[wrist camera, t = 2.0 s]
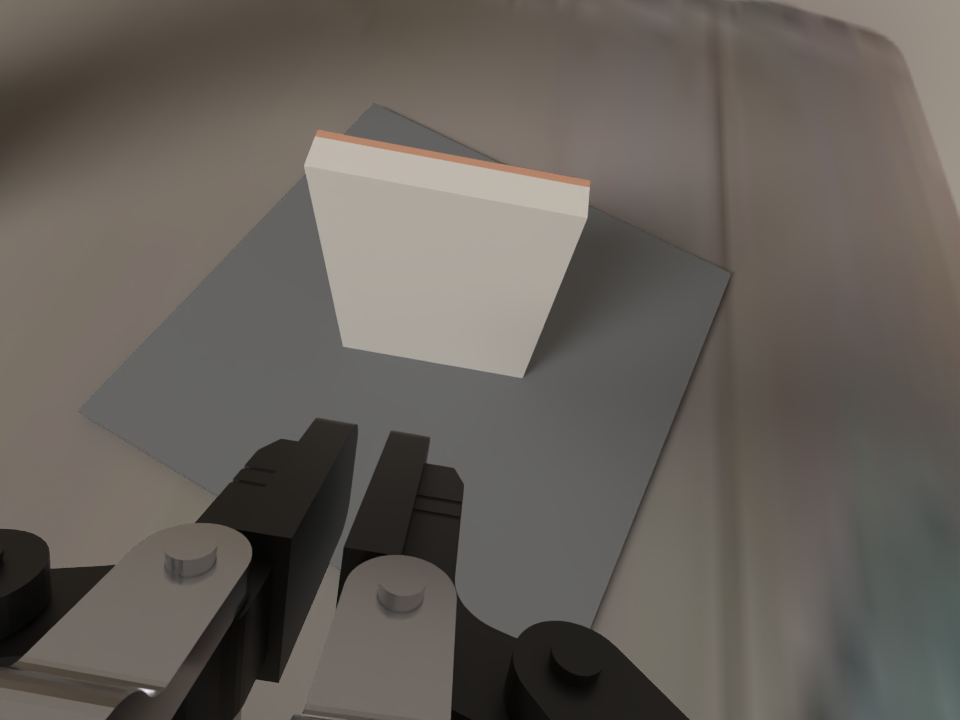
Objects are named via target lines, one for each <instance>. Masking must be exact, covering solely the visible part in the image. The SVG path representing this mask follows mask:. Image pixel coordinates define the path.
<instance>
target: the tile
mask: <svg viewBox="0 0 960 720" xmlns="http://www.w3.org/2000/svg"><path fill="white" fill-rule="evenodd" d="M304 168H305V173H306V177H307V182H308V187H309V191H310V196H311V200H312V205H313V210H314V214H315V219H316V224H317V228H318V233H319V237H320V242H321V247H322V251H323V256H324V261H325V265H326V270H327V275H328V279H329V284H330V288H331V293H332V298H333V302H334V307H335V312H336V316H337V321H338V326H339V330H340V335H341V339H342V344H343V347H348V348H353V349H359V350H365V351H370V352H376V353H382V354H388V355H393V356H399V357H405V358H410V359H416V360H422V361H427V362H433V363H439V364H444V365H450V366H456V367H462V368H467V369H473V370H479V371H484V372H490V373H496V374H501V375H507V376H513V377H518V378H523V376H524V373H525V371H526V368H527V366H528V363H529V361H530V359H531V356H532V354H533V351H534V349H535V346H536V344H537V341H538V339H539V336H540V334H541V331H542V329H543V326H544V324H545V322H546V319H547V317H548V314H549V312H550V309H551V307H552V304H553V302H554V299H555V297H556V294H557V292H558V289H559V287H560V284H561V282H562V280H563V277H564V275H565V272H566V270H567V267H568V265H569V262H570V260H571V257H572V255H573V252H574V250H575V247H576V245H577V243H578V240H579V238H580V235H581V233H582V230H583V228H584V225H585V223H586V220H587V217H588V203H589V190H590V181H589V180H584V179H578V178H573V177H568V176H562V175H557V174H552V173H546V172H541V171H536V170H530V169H525V168H520V167H514V166H509V165H503V164H498V163H493V162H487V161H482V160H477V159H471V158H466V157H461V156H455V155H450V154H445V153H439V152H434V151H429V150H423V149H418V148H412V147H407V146H402V145H396V144H391V143H386V142H380V141H375V140H370V139H364V138H359V137H354V136H348V135H343V134H337V133H332V132H327V131H321V130H318V131H317V133H316V136H315V138H314V141H313V144H312V146H311V149H310V151H309V154H308V157H307V159H306V162H305V164H304Z"/></svg>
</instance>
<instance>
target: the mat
mask: <svg viewBox="0 0 960 720" xmlns="http://www.w3.org/2000/svg"><path fill="white" fill-rule="evenodd" d="M344 135H348V136H354V137H359V138H364V139H370V140H375V141H380V142H386V143H391V144H396V145H402V146H407V147H412V148H418V149H423V150H429V151H434V152H439V153H445V154H450V155H455V156H461V157H466V158H471V159H477V160H482V161H487V162H493V163H498V162H496V161H494V160H492V159H490V158H488V157H486V156H484V155H482V154H480V153H477V152H475V151H473V150H471V149H469V148H467V147H465V146H463V145H461V144H459V143H456V142H454V141H452V140H450V139H448V138H446V137H444V136H442V135H440V134H438V133H435V132H433V131H431V130H429V129H427V128H425V127H423V126H421V125H419V124H417V123H414V122H412V121H410V120H408V119H406V118H404V117H402V116H400V115H398V114H396V113H393V112H391V111H389V110H387V109H385V108H383V107H381V106H379V105H377V104H375V103H374V104H373V105H372V106H371V107H370V108H369V109H368V110H367V111H366V112H365V113H364V114H363V115H362V116H361V117H360V118H359V119H358V120H357V121H356V122H355V124H354V125H353V126H352V127H351V128H350V129H349V130H348V131H347V132H346V133H345V134H344ZM498 164H501V163H498ZM731 274H732V273H730V272H728V271H725V270H723V269H721V268H719V267H717V266H715V265H713V264H711V263H709V262H706V261H704V260H702V259H700V258H698V257H696V256H694V255H692V254H690V253H688V252H685V251H683V250H681V249H679V248H677V247H675V246H673V245H671V244H669V243H667V242H664V241H662V240H660V239H658V238H656V237H654V236H652V235H650V234H648V233H646V232H643V231H641V230H639V229H637V228H635V227H633V226H631V225H629V224H627V223H625V222H622V221H620V220H618V219H616V218H614V217H612V216H610V215H608V214H606V213H604V212H601V211H599V210H597V209H595V208H593V207H591V206H589V205H588V217H587V220H586V223H585V225H584V228H583V230H582V233H581V235H580V238H579V240H578V243H577V245H576V247H575V250H574V252H573V255H572V257H571V260H570V262H569V265H568V267H567V270H566V272H565V275H564V277H563V280H562V282H561V284H560V287H559V289H558V292H557V294H556V297H555V299H554V302H553V304H552V307H551V309H550V312H549V314H548V317H547V319H546V322H545V324H544V326H543V329H542V331H541V334H540V336H539V339H538V341H537V344H536V346H535V349H534V351H533V354H532V356H531V359H530V361H529V363H528V366H527V368H526V371H525V373H524V376H523V378H518V377H513V376H507V375H501V374H496V373H490V372H484V371H479V370H473V369H467V368H462V367H456V366H450V365H444V364H439V363H433V362H427V361H422V360H416V359H410V358H405V357H399V356H393V355H388V354H382V353H376V352H370V351H365V350H359V349H353V348H348V347H343V344H342V339H341V335H340V330H339V326H338V321H337V316H336V312H335V307H334V302H333V298H332V293H331V288H330V284H329V279H328V275H327V270H326V265H325V261H324V256H323V251H322V247H321V242H320V237H319V233H318V228H317V224H316V219H315V214H314V210H313V205H312V200H311V196H310V191H309V187H308V182H307V177H306V174H305V175H304V177H303V178H302V179H301V180H300V181H299V182H298V183H297V184H296V185H295V186H294V187H293V188H292V189H291V190H290V191H289V192H288V193H287V194H286V195H285V196H284V197H283V198H282V199H281V200H280V201H279V203H278V204H277V205H276V206H275V207H274V208H273V209H272V210H271V211H270V212H269V213H268V214H267V215H266V216H265V217H264V218H263V219H262V220H261V221H260V222H259V223H258V224H257V225H256V226H255V227H254V229H253V230H252V231H251V232H250V233H249V234H248V235H247V236H246V237H245V238H244V239H243V240H242V241H241V242H240V243H239V244H238V245H237V246H236V247H235V248H234V249H233V250H232V251H231V252H230V253H229V254H228V256H227V257H226V258H225V259H224V260H223V261H222V262H221V263H220V264H219V265H218V266H217V267H216V268H215V269H214V270H213V271H212V272H211V273H210V274H209V275H208V276H207V277H206V278H205V279H204V280H203V282H202V283H201V284H200V285H199V286H198V287H197V288H196V289H195V290H194V291H193V292H192V293H191V294H190V295H189V296H188V297H187V298H186V299H185V300H184V301H183V302H182V303H181V304H180V305H179V306H178V307H177V309H176V310H175V311H174V312H173V313H172V314H171V315H170V316H169V317H168V318H167V319H166V320H165V321H164V322H163V323H162V324H161V325H160V326H159V327H158V328H157V329H156V330H155V331H154V332H153V333H152V335H151V336H150V337H149V338H148V339H147V340H146V341H145V342H144V343H143V344H142V345H141V346H140V347H139V348H138V349H137V350H136V351H135V352H134V353H133V354H132V355H131V356H130V357H129V358H128V359H127V361H126V362H125V363H124V364H123V365H122V366H121V367H120V368H119V369H118V370H117V371H116V372H115V373H114V374H113V375H112V376H111V377H110V378H109V379H108V380H107V381H106V382H105V383H104V384H103V385H102V386H101V388H100V389H99V390H98V391H97V392H96V393H95V394H94V395H93V396H92V397H91V398H90V399H89V400H88V401H87V402H86V403H85V404H84V405H83V406H82V407H81V408H80V409H79V410H78V412H79V413H81V414H82V415H84V416H85V417H87V418H88V419H90V420H92V421H93V422H95V423H97V424H98V425H100V426H102V427H103V428H105V429H107V430H108V431H110V432H112V433H113V434H115V435H117V436H118V437H120V438H122V439H123V440H125V441H127V442H128V443H130V444H132V445H133V446H135V447H137V448H138V449H140V450H142V451H143V452H145V453H147V454H148V455H150V456H152V457H153V458H155V459H157V460H158V461H160V462H162V463H163V464H165V465H167V466H168V467H170V468H172V469H173V470H175V471H177V472H178V473H180V474H182V475H183V476H185V477H187V478H188V479H190V480H192V481H193V482H195V483H197V484H198V485H200V486H201V487H203V488H205V489H206V490H208V491H210V492H211V493H213V494H215V495H216V496H219V495H220V493H221V492H222V491H223V490H224V489H225V488H226V486H227V485H228V484H229V483H230V482H233V478H234V477H235V476H236V475H237V474H238V472H239V471H240V470H241V469H244V466H245V464H246V463H247V462H248V461H249V460H250V458H251V457H252V456H253V455H254V454H255V453H256V451H257V450H258V449H261V448H263V447H265V446H267V445H269V444H271V443H273V442H275V441H277V440H279V439H287V440H293V441H299V440H300V438H301V437H302V436H303V434H304V433H305V432H306V430H307V429H308V428H309V426H310V425H311V424H312V422H313V421H314V420H315V418H317V417H318V418H324V419H330V420H336V421H341V422H347V423H353V424H357V425H358V439H357V448H356V456H355V464H354V472H353V480H352V488H351V496H350V503H349V509H348V514H347V518H346V522H345V526H344V529H343V532H342V535H341V537H340V539H339V542H338V544H337V546H336V549H335V551H334V554H333V556H332V558H331V561H330V563H329V564H331V565H333V566H334V567H336V568H338V569H339V570H341V564H342V556H343V548H344V545H345V542H346V540H347V537H348V535H349V532H350V530H351V527H352V525H353V522H354V520H355V518H356V515H357V513H358V510H359V508H360V505H361V503H362V500H363V498H364V495H365V493H366V490H367V488H368V486H369V483H370V481H371V478H372V476H373V473H374V471H375V468H376V466H377V463H378V461H379V458H380V456H381V453H382V451H383V449H384V446H385V444H386V441H387V439H388V436H389V434H390V431H391V430H394V431H400V432H406V433H412V434H417V435H423V436H429V437H430V445H429V451H428V457H427V463H428V464H434V465H440V466H446V467H452V468H455V470H456V472H457V473H458V475H459V477H460V478H461V480H462V482H463V483H464V493H463V502H462V513H461V523H460V533H459V543H458V554H457V564H456V574H455V586H456V591H457V593H458V596H459V598H460V600H461V601H462V603H463V604H464V606H465V607H466V608H467V609H468V610H469V611H470V612H471V613H472V614H473V615H474V616H475V617H477V618H478V619H479V620H481V621H482V622H484V623H485V624H487V625H489V626H491V627H493V628H495V629H497V630H499V631H501V632H503V633H506V634H508V635H510V636H513V637H515V638H518V637H519V635H520V634H521V633H522V632H523V631H524V630H525V629H527V628H528V627H530V626H532V625H534V624H536V623H540V622H544V621H566V622H572V623H575V624H579V625H582V626H584V627H587V628H589V629H590V627H591V625H592V622H593V620H594V617H595V615H596V612H597V610H598V607H599V605H600V602H601V600H602V597H603V595H604V592H605V590H606V587H607V585H608V582H609V580H610V577H611V575H612V572H613V570H614V567H615V565H616V562H617V560H618V557H619V555H620V552H621V550H622V547H623V545H624V542H625V540H626V537H627V535H628V532H629V530H630V527H631V525H632V522H633V520H634V517H635V515H636V512H637V510H638V507H639V504H640V502H641V499H642V497H643V494H644V492H645V489H646V487H647V484H648V482H649V479H650V477H651V474H652V472H653V469H654V467H655V464H656V462H657V459H658V457H659V454H660V452H661V449H662V447H663V444H664V442H665V439H666V437H667V434H668V432H669V429H670V427H671V424H672V422H673V419H674V417H675V414H676V412H677V409H678V407H679V404H680V402H681V399H682V397H683V394H684V392H685V389H686V387H687V384H688V382H689V379H690V377H691V374H692V372H693V369H694V366H695V364H696V361H697V359H698V356H699V354H700V351H701V349H702V346H703V344H704V341H705V339H706V336H707V334H708V331H709V329H710V326H711V324H712V321H713V319H714V316H715V314H716V311H717V309H718V306H719V304H720V301H721V299H722V296H723V294H724V291H725V289H726V286H727V284H728V281H729V279H730V276H731Z"/></svg>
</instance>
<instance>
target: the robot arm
mask: <svg viewBox="0 0 960 720" xmlns="http://www.w3.org/2000/svg"><path fill="white" fill-rule="evenodd" d="M357 439H358V425H357V424H353V423H347V422H341V421H336V420H330V419H324V418H318V417H317V418H315V420H314V421H313V422H312V424H311V425H310V426H309V428H308V429H307V430H306V432H305V433H304V434H303V436H302V437H301V438H300V440H299V441H293V440H287V439H279V440H277V441H275V442H273V443H271V444H269V445H267V446H265V447H263V448H261V449H258V450H257V451H256V453H255V454H254V455H253V456H252V457H251V458H250V460H249V461H248V462H247V463H246V464H245V466H244V469H241V470H240V471H239V472H238V474H237V475H236V476H235V477H234V478H233V482H230V483H229V484H228V485H227V486H226V488H225V489H224V490H223V491H222V492H221V493H220V495H219V496H218V497H217V498H216V499H215V500H214V502H213V503H212V504H211V505H210V506H209V507H208V509H207V510H206V511H205V512H204V513H203V514H202V515H201V517H200V518H199V519H198V520H197V521H196V522H195V523H191V524H184V525H178V526H174V527H170V528H167V529H164V530H161V531H158V532H156V533H154V534H152V535H150V536H148V537H147V538H145V539H144V540H142V541H141V542H140V543H138V544H137V545H136V546H135V547H134V548H133V549H132V550H131V551H130V552H129V553H128V554H127V555H126V556H125V557H124V558H123V559H122V560H121V561H120V562H119V563H117V564H116V565H108V566H93V567H76V568H58V569H50V554H49V547H48V546H47V544H46V542H45V541H44V540H43V539H41V538H40V537H38V536H36V535H35V534H32V533H29V532H26V531H20V530H13V529H0V720H241V711H242V707H243V705H244V703H245V701H246V699H247V697H248V694H249V692H250V690H251V688H252V686H253V684H254V682H255V680H256V679H257V680H264V681H270V682H276V683H279V680H280V678H281V676H282V673H283V671H284V669H285V666H286V664H287V662H288V659H289V657H290V655H291V652H292V650H293V648H294V645H295V643H296V641H297V638H298V636H299V633H300V631H301V629H302V626H303V624H304V622H305V619H306V617H307V615H308V612H309V610H310V608H311V605H312V603H313V601H314V598H315V596H316V594H317V591H318V589H319V586H320V584H321V582H322V579H323V577H324V575H325V572H326V570H327V568H328V565H329V563H330V561H331V558H332V556H333V554H334V551H335V549H336V546H337V544H338V542H339V539H340V537H341V535H342V532H343V529H344V526H345V522H346V518H347V514H348V509H349V503H350V496H351V488H352V480H353V472H354V464H355V456H356V448H357ZM429 445H430V437H429V436H423V435H417V434H412V433H406V432H400V431H394V430H391V431H390V434H389V436H388V439H387V441H386V444H385V446H384V449H383V451H382V453H381V456H380V458H379V461H378V463H377V466H376V468H375V471H374V473H373V476H372V478H371V481H370V483H369V486H368V488H367V490H366V493H365V495H364V498H363V500H362V503H361V505H360V508H359V510H358V513H357V515H356V518H355V520H354V522H353V525H352V527H351V530H350V532H349V535H348V537H347V540H346V542H345V545H344V548H343V556H342V564H341V572H340V580H339V588H338V596H337V604H336V611H335V615H334V618H333V621H332V624H331V627H330V630H329V633H328V636H327V639H326V642H325V645H324V648H323V651H322V655H321V658H320V661H319V664H318V667H317V670H316V673H315V676H314V679H313V682H312V685H311V688H310V691H309V694H308V698H307V701H306V704H305V707H304V710H303V712H302V715H293V716H292V718H291V719H290V720H689V719H688V718H687V717H686V716H685V715H684V714H683V713H682V712H681V711H680V710H679V709H678V708H677V707H676V706H675V705H674V704H673V703H672V702H671V701H670V700H669V699H668V698H667V697H666V696H665V695H664V694H663V693H662V692H661V691H660V690H659V689H658V688H657V687H656V686H655V685H654V684H653V683H652V682H651V681H650V680H649V679H648V678H647V677H646V676H645V675H644V674H643V673H642V672H641V671H640V670H639V669H638V668H637V667H636V666H635V665H634V664H633V663H632V662H631V661H630V660H629V659H628V658H627V657H626V656H625V655H624V654H623V653H622V652H621V651H620V650H619V649H618V648H617V647H616V646H614V645H613V644H612V643H611V642H610V641H609V640H607V639H606V638H605V637H603V636H602V635H600V634H599V633H597V632H595V631H593V630H591V629H589V628H587V627H584V626H582V625H579V624H575V623H572V622H566V621H544V622H540V623H536V624H534V625H532V626H530V627H528V628H527V629H525V630H524V631H523V632H522V633H521V634H520V635H519V637H518V638H515V637H513V636H510V635H508V634H506V633H503V632H501V631H499V630H497V629H495V628H493V627H491V626H489V625H487V624H485V623H484V622H482V621H481V620H479V619H478V618H477V617H475V616H474V615H473V614H472V613H471V612H470V611H469V610H468V609H467V608H466V607H465V606H464V604H463V603H462V601H461V600H460V598H459V596H458V593H457V591H456V586H455V574H456V564H457V554H458V543H459V533H460V523H461V513H462V502H463V493H464V483H463V482H462V480H461V478H460V477H459V475H458V473H457V472H456V470H455V468H452V467H446V466H440V465H434V464H428V463H427V457H428V451H429Z"/></svg>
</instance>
